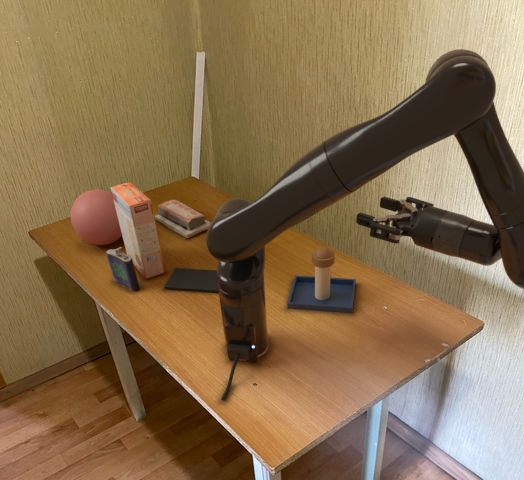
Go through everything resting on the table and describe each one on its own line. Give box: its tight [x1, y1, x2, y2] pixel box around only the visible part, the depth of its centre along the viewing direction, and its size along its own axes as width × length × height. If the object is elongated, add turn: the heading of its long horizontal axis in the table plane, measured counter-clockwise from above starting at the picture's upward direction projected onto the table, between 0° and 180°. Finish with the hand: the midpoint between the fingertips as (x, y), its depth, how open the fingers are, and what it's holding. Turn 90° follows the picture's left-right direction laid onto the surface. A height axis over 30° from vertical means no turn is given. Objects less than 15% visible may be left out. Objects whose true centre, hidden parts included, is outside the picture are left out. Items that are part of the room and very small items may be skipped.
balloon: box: [70, 188, 123, 246], centre depth 152 cm, size 15×20×15 cm
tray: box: [286, 274, 357, 314], centre depth 128 cm, size 12×15×2 cm
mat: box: [164, 267, 219, 294], centre depth 136 cm, size 9×20×1 cm, turn 78°
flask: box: [105, 246, 141, 292], centre depth 134 cm, size 9×3×11 cm, turn 50°
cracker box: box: [110, 181, 166, 280], centre depth 137 cm, size 14×6×21 cm, turn 31°
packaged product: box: [154, 199, 211, 240], centre depth 160 cm, size 18×5×10 cm
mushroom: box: [311, 246, 336, 300], centre depth 124 cm, size 5×5×13 cm
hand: (369, 209), depth 106 cm, fingers open, 8 cm apart
